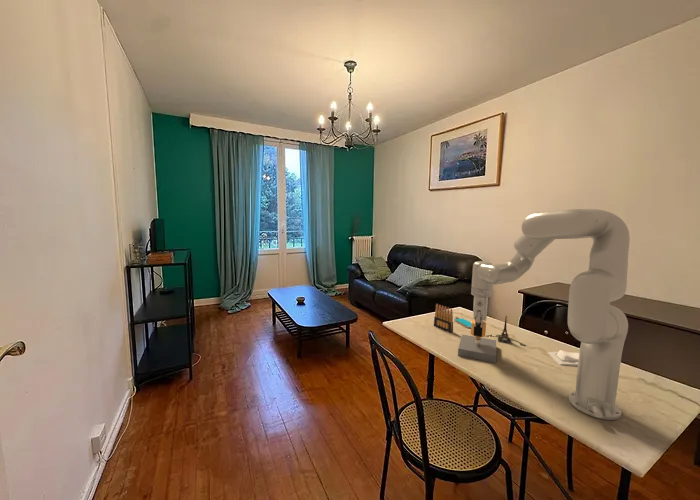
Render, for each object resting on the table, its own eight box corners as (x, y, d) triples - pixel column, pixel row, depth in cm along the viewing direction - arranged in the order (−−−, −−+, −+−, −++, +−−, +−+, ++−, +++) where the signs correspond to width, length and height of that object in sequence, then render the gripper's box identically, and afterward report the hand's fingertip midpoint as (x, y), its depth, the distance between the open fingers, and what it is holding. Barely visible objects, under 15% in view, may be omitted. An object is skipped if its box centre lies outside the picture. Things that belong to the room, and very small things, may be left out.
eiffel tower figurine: (527, 347, 136) (530, 318, 134) (510, 350, 132) (512, 320, 130) (500, 334, 150) (502, 307, 148) (484, 337, 146) (486, 309, 144)
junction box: (495, 362, 120) (496, 346, 119) (457, 355, 126) (458, 340, 125) (495, 346, 135) (496, 332, 134) (461, 340, 140) (462, 326, 140)
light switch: (547, 346, 129) (581, 346, 127) (547, 355, 130) (581, 356, 127) (559, 357, 119) (597, 359, 116) (559, 368, 119) (596, 369, 117)
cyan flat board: (492, 330, 155) (492, 327, 154) (472, 333, 151) (472, 329, 151) (466, 317, 173) (466, 314, 173) (447, 319, 170) (448, 316, 170)
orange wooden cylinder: (484, 338, 126) (485, 325, 125) (470, 335, 128) (471, 323, 128) (485, 333, 131) (486, 321, 130) (471, 330, 133) (472, 319, 133)
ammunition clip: (433, 326, 158) (434, 303, 157) (436, 325, 160) (437, 302, 158) (450, 332, 150) (451, 309, 148) (453, 332, 151) (454, 308, 149)
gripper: (490, 297, 118) (487, 342, 120) (491, 287, 133) (488, 327, 136) (469, 295, 121) (466, 339, 123) (472, 285, 136) (470, 324, 139)
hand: (478, 332), depth 130 cm, fingers closed on orange wooden cylinder, 5 cm apart
